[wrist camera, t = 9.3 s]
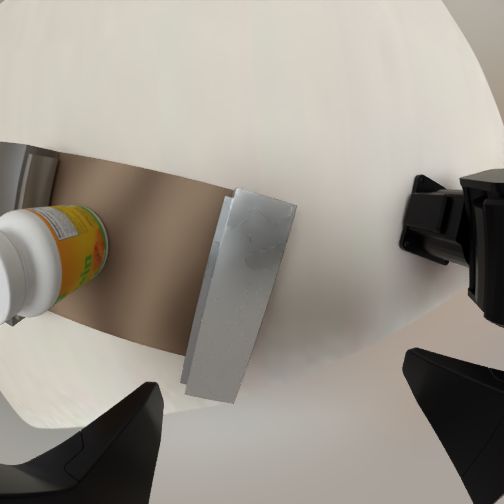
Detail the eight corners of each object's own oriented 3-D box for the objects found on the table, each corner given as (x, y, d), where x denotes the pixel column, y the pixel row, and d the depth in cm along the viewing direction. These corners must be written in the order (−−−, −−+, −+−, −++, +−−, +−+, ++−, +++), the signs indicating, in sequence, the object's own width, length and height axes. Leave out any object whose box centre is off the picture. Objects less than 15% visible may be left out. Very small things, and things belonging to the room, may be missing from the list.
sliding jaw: (280, 203, 17) (297, 205, 13) (231, 368, 19) (233, 403, 15) (227, 188, 17) (228, 185, 13) (185, 358, 18) (178, 392, 15)
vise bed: (288, 207, 19) (314, 211, 14) (242, 357, 21) (249, 402, 15) (42, 150, 16) (0, 141, 11) (25, 290, 18) (-13, 311, 12)
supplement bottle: (86, 295, 17) (7, 363, 8) (39, 247, 16) (-53, 283, 7) (124, 237, 17) (38, 278, 7) (72, 188, 16) (-30, 188, 6)
